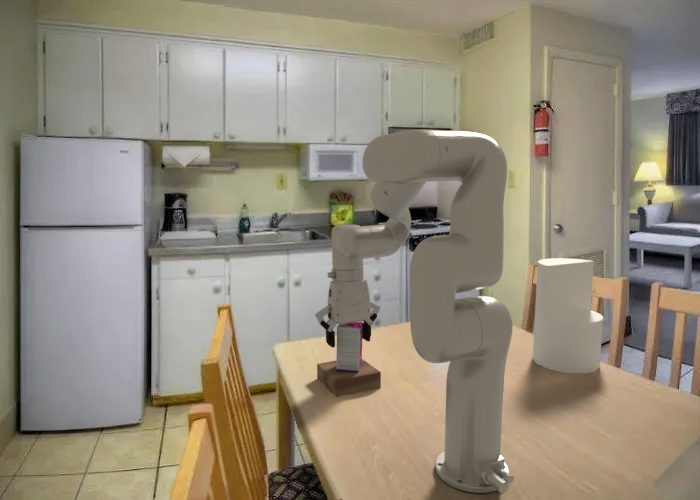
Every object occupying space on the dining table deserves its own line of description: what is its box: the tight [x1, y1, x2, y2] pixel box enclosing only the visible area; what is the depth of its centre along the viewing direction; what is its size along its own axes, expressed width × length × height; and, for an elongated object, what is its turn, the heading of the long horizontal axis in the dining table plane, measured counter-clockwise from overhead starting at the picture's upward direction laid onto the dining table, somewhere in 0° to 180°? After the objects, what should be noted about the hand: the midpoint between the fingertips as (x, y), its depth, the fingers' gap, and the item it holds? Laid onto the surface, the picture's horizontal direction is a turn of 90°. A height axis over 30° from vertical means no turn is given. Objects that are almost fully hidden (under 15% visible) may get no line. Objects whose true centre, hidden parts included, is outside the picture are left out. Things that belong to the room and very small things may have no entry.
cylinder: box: [532, 257, 604, 374], centre depth 137 cm, size 17×17×28 cm
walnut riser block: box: [316, 358, 382, 398], centre depth 125 cm, size 12×12×4 cm
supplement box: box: [335, 321, 364, 373], centre depth 124 cm, size 6×6×12 cm
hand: (348, 342), depth 124 cm, fingers open, 9 cm apart
